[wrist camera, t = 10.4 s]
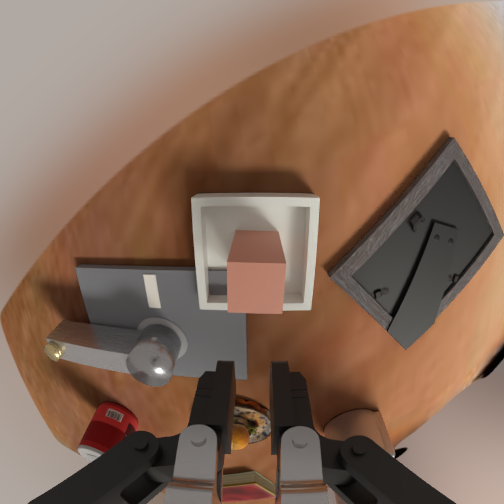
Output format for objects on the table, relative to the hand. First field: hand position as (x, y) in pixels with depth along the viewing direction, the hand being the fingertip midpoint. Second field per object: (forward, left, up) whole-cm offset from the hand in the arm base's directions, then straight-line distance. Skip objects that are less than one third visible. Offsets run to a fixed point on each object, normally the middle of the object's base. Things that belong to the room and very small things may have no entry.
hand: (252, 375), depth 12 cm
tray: (0, 0, -17) cm, 17 cm away
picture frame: (-20, 0, -18) cm, 27 cm away
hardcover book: (+7, +58, -18) cm, 61 cm away
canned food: (+24, +31, -17) cm, 43 cm away
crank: (+17, +11, -16) cm, 26 cm away
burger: (+3, +28, -18) cm, 33 cm away
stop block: (0, 0, -16) cm, 16 cm away
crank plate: (+11, +9, -17) cm, 22 cm away
